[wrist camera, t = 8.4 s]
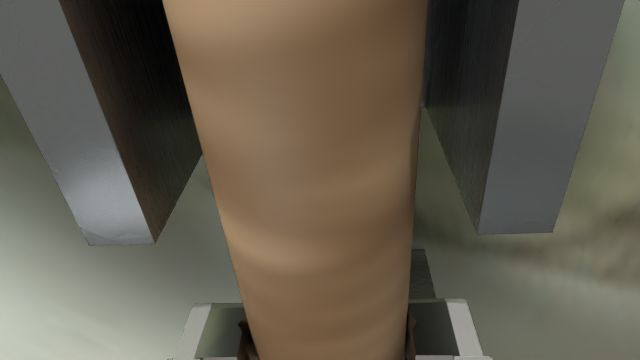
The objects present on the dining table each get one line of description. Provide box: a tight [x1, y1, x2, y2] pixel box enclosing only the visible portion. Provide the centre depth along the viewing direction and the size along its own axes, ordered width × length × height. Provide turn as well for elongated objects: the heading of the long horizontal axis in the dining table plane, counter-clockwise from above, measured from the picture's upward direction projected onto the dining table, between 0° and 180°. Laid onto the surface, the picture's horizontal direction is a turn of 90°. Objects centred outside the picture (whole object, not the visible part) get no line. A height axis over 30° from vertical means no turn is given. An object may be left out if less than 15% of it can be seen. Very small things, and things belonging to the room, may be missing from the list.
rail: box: [162, 0, 428, 360], centre depth 11 cm, size 17×4×4 cm
